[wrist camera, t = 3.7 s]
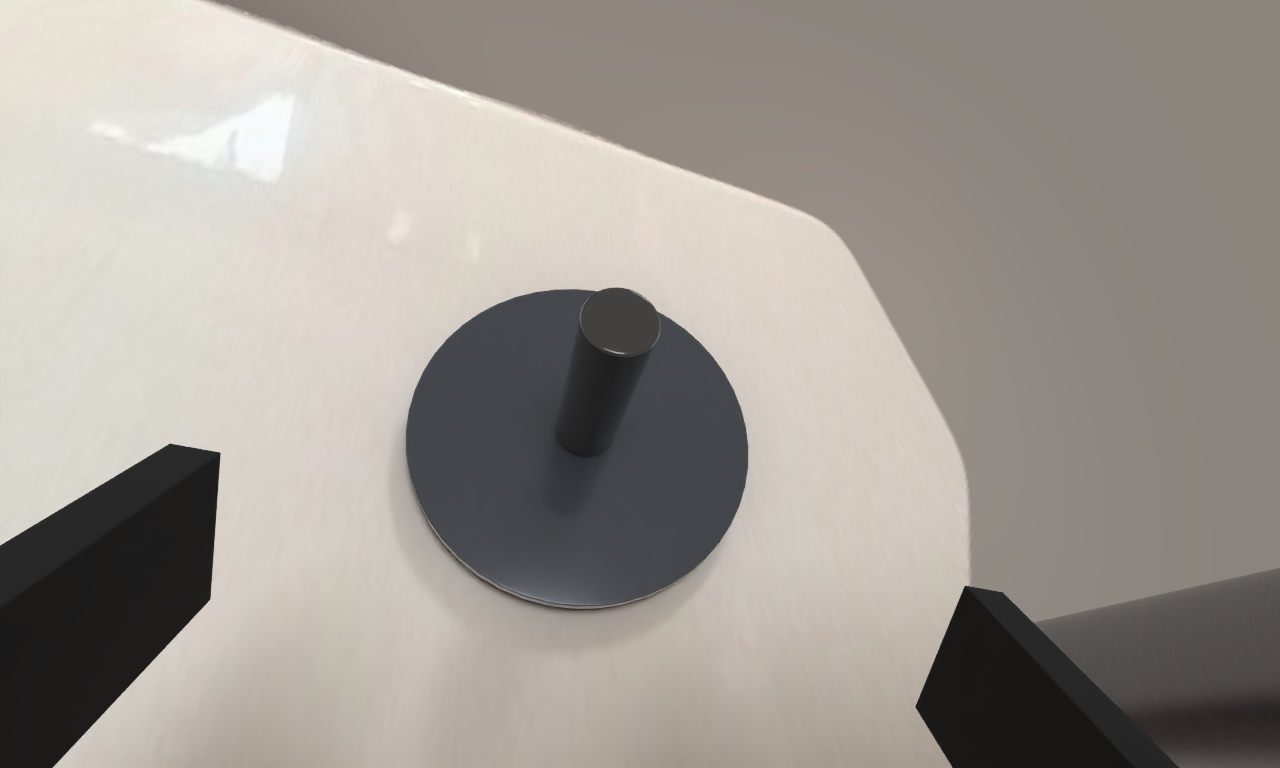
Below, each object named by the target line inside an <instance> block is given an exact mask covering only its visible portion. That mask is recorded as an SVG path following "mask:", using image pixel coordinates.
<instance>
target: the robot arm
mask: <svg viewBox="0 0 1280 768" xmlns="http://www.w3.org/2000/svg"><path fill="white" fill-rule="evenodd" d="M219 466H220V453H219V452H213V451H208V450H202V449H197V448H191V447H185V446H180V445H174V444H169V445H167V446H165V447H164V448H162V449H160V450H159V451H157V452H155V453H154V454H152V455H150V456H149V457H147V458H145V459H144V460H142V461H140V462H139V463H137V464H135V465H134V466H132V467H130V468H129V469H127V470H125V471H124V472H122V473H120V474H119V475H117V476H115V477H114V478H112V479H110V480H109V481H107V482H105V483H104V484H102V485H100V486H99V487H97V488H95V489H94V490H92V491H90V492H89V493H87V494H85V495H84V496H82V497H80V498H79V499H77V500H75V501H74V502H72V503H70V504H69V505H67V506H65V507H64V508H62V509H60V510H59V511H57V512H55V513H54V514H52V515H50V516H49V517H47V518H45V519H44V520H42V521H40V522H39V523H37V524H35V525H34V526H32V527H30V528H29V529H27V530H25V531H24V532H22V533H20V534H19V535H17V536H15V537H14V538H12V539H10V540H9V541H7V542H5V543H4V544H2V545H0V768H53V767H54V766H55V764H56V763H57V762H58V761H59V760H60V759H61V758H62V757H63V756H64V755H65V754H66V753H67V752H68V751H69V750H70V749H71V747H72V746H73V745H74V744H75V743H76V742H77V741H78V740H79V739H80V738H81V737H82V736H83V735H84V734H85V733H86V731H87V730H88V729H89V728H90V727H91V726H92V725H93V724H94V723H95V722H96V721H97V720H98V719H99V718H100V717H101V715H102V714H103V713H104V712H105V711H106V710H107V709H108V708H109V707H110V706H111V705H112V704H113V703H114V702H115V701H116V699H117V698H118V697H119V696H120V695H121V694H122V693H123V692H124V691H125V690H126V689H127V688H128V687H129V686H130V685H131V683H132V682H133V681H134V680H135V679H136V678H137V677H138V676H139V675H140V674H141V673H142V672H143V671H144V670H145V669H146V667H147V666H148V665H149V664H150V663H151V662H152V661H153V660H154V659H155V658H156V657H157V656H158V655H159V654H160V653H161V651H162V650H163V649H164V648H165V647H166V646H167V645H168V644H169V643H170V642H171V641H172V640H173V639H174V638H175V637H176V635H177V634H178V633H179V632H180V631H181V630H182V629H183V628H184V627H185V626H186V625H187V624H188V623H189V622H190V621H191V619H192V618H193V617H194V616H195V615H196V614H197V613H198V612H199V611H200V610H201V609H202V608H203V607H204V606H205V605H206V603H207V602H208V601H209V600H210V597H211V582H212V568H213V553H214V539H215V524H216V510H217V495H218V481H219ZM916 709H917V710H918V712H919V714H920V715H921V717H922V719H923V720H924V722H925V723H926V725H927V727H928V728H929V730H930V732H931V733H932V735H933V736H934V738H935V740H936V741H937V743H938V744H939V746H940V748H941V749H942V751H943V753H944V754H945V756H946V757H947V759H948V761H949V762H950V764H951V766H952V767H953V768H1179V767H1178V766H1177V765H1176V764H1175V763H1174V762H1173V761H1172V760H1171V759H1170V758H1169V757H1168V756H1167V755H1166V754H1165V753H1164V752H1163V751H1162V750H1161V749H1160V748H1159V747H1158V746H1157V745H1156V744H1155V743H1154V742H1153V741H1152V740H1151V739H1150V738H1149V737H1148V736H1147V735H1146V734H1145V733H1144V732H1143V731H1142V730H1141V729H1140V728H1139V727H1138V726H1137V725H1136V724H1135V723H1134V722H1133V721H1132V720H1131V719H1130V718H1129V717H1128V716H1127V715H1126V714H1124V713H1123V712H1122V711H1121V710H1120V709H1119V708H1118V707H1117V706H1116V705H1115V704H1114V703H1113V702H1112V701H1111V700H1110V699H1109V698H1108V697H1107V696H1106V695H1105V694H1104V693H1103V692H1102V691H1101V690H1100V689H1099V688H1098V687H1097V686H1096V685H1095V684H1094V683H1093V682H1092V681H1091V680H1090V679H1089V678H1088V677H1087V676H1086V675H1085V674H1084V673H1083V672H1082V671H1081V670H1080V669H1079V668H1078V667H1077V666H1076V665H1075V664H1074V663H1073V662H1072V661H1071V660H1070V659H1069V658H1068V657H1067V656H1066V655H1065V654H1064V653H1063V652H1062V651H1061V650H1060V649H1059V648H1058V647H1057V646H1056V645H1055V644H1054V643H1053V642H1052V641H1051V640H1050V639H1049V638H1048V637H1047V636H1046V635H1045V634H1044V633H1043V632H1042V631H1041V630H1040V629H1039V628H1038V627H1037V626H1036V625H1035V624H1034V623H1033V622H1032V621H1031V620H1030V619H1029V618H1028V617H1027V616H1026V615H1025V614H1024V613H1023V612H1022V611H1020V609H1019V608H1018V607H1017V606H1016V605H1015V604H1014V603H1012V601H1011V600H1009V598H1008V597H1006V595H1004V594H1003V592H997V591H991V590H986V589H980V588H975V587H969V586H965V587H964V589H963V592H962V594H961V597H960V599H959V602H958V604H957V607H956V609H955V611H954V614H953V616H952V619H951V621H950V624H949V626H948V629H947V631H946V633H945V636H944V638H943V641H942V643H941V646H940V648H939V650H938V653H937V655H936V658H935V660H934V663H933V665H932V668H931V670H930V672H929V675H928V677H927V680H926V682H925V685H924V687H923V690H922V692H921V694H920V697H919V699H918V702H917V704H916Z"/></svg>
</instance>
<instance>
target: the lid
mask: <svg viewBox="0 0 1280 768" xmlns="http://www.w3.org/2000/svg"><path fill="white" fill-rule="evenodd" d="M406 455H407V461H408V467H409V473H410V478H411V481H412V484H413V487H414V491H415V494H416V497H417V500H418V503H419V505H420V507H421V509H422V511H423V513H424V515H425V517H426V519H427V521H428V523H429V524H430V526H431V527H432V529H433V530H434V531H435V533H436V534H437V536H438V537H439V539H440V540H441V542H442V543H443V544H444V545H445V546H446V547H447V548H448V549H449V550H450V551H451V553H452V554H453V555H454V556H455V557H456V558H457V559H458V560H459V561H460V562H461V563H463V564H464V565H465V566H466V567H468V568H469V569H470V570H471V571H473V572H474V573H475V574H476V575H477V576H479V577H481V578H482V579H484V580H486V581H487V582H489V583H491V584H492V585H494V586H496V587H497V588H499V589H501V590H503V591H506V592H508V593H510V594H513V595H515V596H517V597H520V598H522V599H525V600H529V601H533V602H536V603H540V604H544V605H547V606H555V607H563V608H570V609H597V608H604V607H611V606H618V605H623V604H626V603H630V602H633V601H637V600H640V599H644V598H646V597H648V596H650V595H653V594H655V593H657V592H659V591H661V590H664V589H666V588H667V587H669V586H670V585H672V584H674V583H675V582H677V581H678V580H680V579H681V578H683V577H685V576H686V575H687V574H688V573H689V572H691V571H692V570H693V569H694V568H695V567H696V566H698V565H699V564H700V563H701V562H702V561H703V560H705V558H706V557H707V556H708V555H709V554H710V553H711V552H712V550H713V549H714V548H715V547H716V546H717V545H718V544H719V542H720V541H721V539H722V538H723V536H724V535H725V533H726V531H727V530H728V528H729V527H730V525H731V523H732V521H733V519H734V517H735V514H736V512H737V510H738V508H739V505H740V502H741V499H742V495H743V492H744V488H745V483H746V477H747V470H748V442H747V434H746V426H745V423H744V419H743V415H742V411H741V408H740V405H739V403H738V400H737V398H736V395H735V393H734V390H733V388H732V386H731V385H730V383H729V381H728V379H727V377H726V375H725V374H724V372H723V371H722V369H721V368H720V366H719V365H718V364H717V362H716V361H715V359H714V358H713V357H712V356H711V354H710V353H709V352H708V351H707V350H706V349H705V348H704V347H703V346H702V344H701V343H700V342H699V341H697V340H696V339H695V338H694V337H693V336H692V335H691V334H690V333H688V332H687V331H686V330H685V329H684V328H682V327H681V326H679V325H678V324H677V323H675V322H674V321H672V320H671V319H670V318H668V317H666V316H664V315H663V314H661V313H659V312H657V311H656V309H655V308H654V306H653V305H652V304H651V303H650V302H649V301H648V300H647V299H646V298H645V297H643V296H642V295H640V294H639V293H637V292H634V291H632V290H629V289H624V288H608V289H604V290H601V291H598V292H597V291H589V290H577V289H567V290H550V291H542V292H535V293H531V294H527V295H523V296H519V297H515V298H513V299H510V300H507V301H505V302H502V303H499V304H497V305H495V306H493V307H491V308H489V309H487V310H485V311H483V312H481V313H480V314H478V315H477V316H475V317H474V318H472V319H471V320H469V321H468V322H466V323H465V324H464V325H462V326H461V327H460V328H459V329H458V330H457V331H456V332H455V333H453V334H452V335H451V336H450V337H449V338H448V339H447V340H446V341H445V342H444V344H443V345H442V346H441V347H440V348H439V349H438V351H437V352H436V353H435V354H434V356H433V357H432V359H431V360H430V362H429V363H428V365H427V367H426V368H425V370H424V371H423V373H422V376H421V378H420V380H419V382H418V384H417V387H416V389H415V391H414V395H413V398H412V402H411V405H410V409H409V414H408V421H407V429H406Z"/></svg>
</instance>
